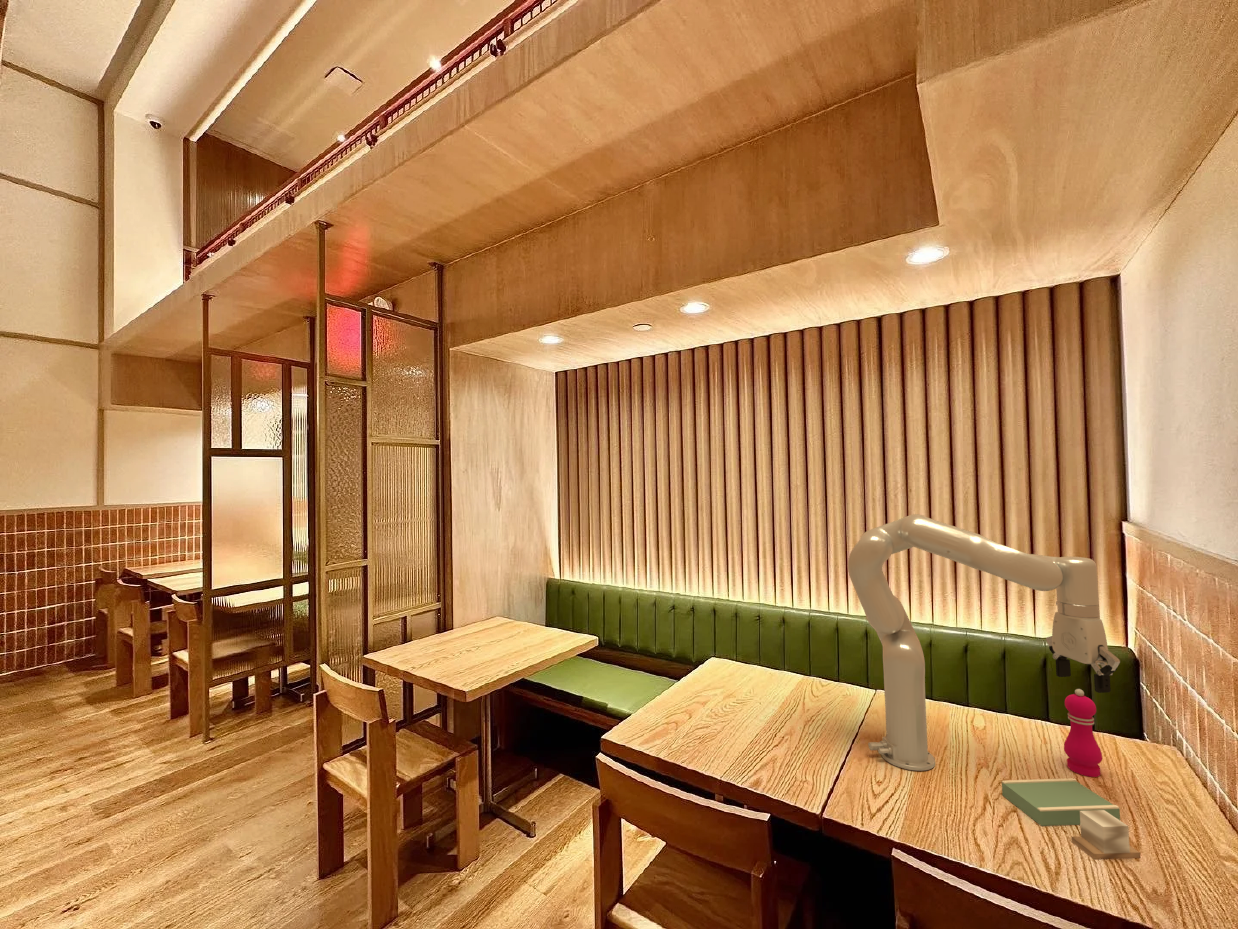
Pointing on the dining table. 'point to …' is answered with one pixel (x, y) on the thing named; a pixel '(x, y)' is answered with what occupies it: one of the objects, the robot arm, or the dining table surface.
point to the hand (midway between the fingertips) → (1082, 684)
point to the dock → (1055, 800)
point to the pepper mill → (1082, 736)
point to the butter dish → (1104, 836)
